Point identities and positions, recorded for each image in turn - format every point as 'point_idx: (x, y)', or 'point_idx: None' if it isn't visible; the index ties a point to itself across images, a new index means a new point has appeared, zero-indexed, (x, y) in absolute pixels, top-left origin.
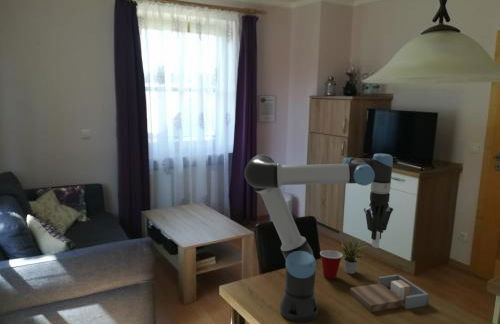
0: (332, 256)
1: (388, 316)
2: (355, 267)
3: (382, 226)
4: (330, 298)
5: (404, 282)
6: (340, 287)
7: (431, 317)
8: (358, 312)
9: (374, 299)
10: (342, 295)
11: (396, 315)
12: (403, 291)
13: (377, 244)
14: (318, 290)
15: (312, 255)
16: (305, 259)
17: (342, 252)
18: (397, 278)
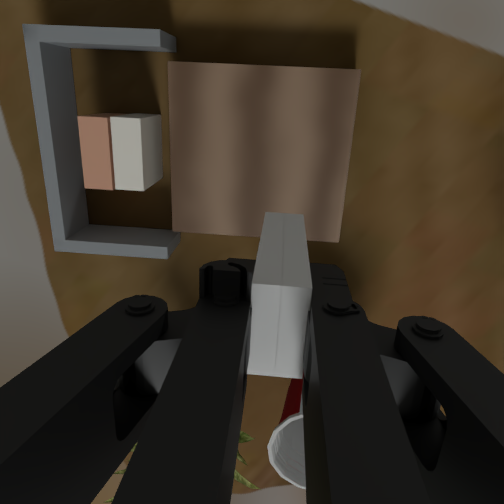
0: (293, 451)
1: (300, 10)
2: None
3: (189, 344)
4: (438, 231)
5: (82, 158)
6: None
7: None
8: (407, 89)
9: (304, 113)
10: (372, 234)
11: (258, 4)
12: (126, 115)
13: (285, 224)
14: (439, 300)
15: None
16: None
17: (238, 458)
18: (73, 235)
